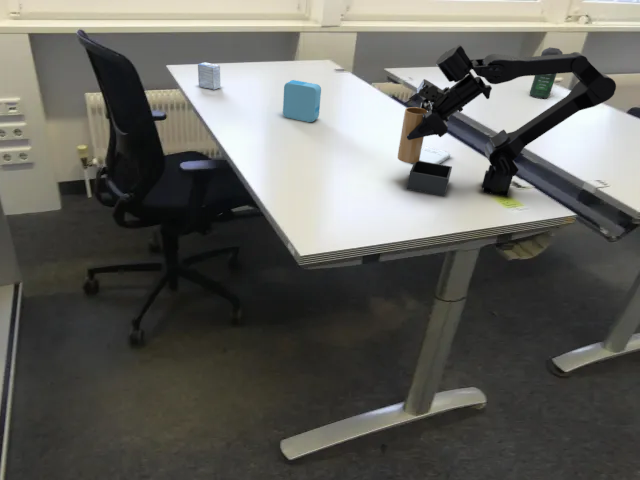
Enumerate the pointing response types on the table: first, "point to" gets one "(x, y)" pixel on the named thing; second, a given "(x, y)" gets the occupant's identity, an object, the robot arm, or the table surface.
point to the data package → (301, 100)
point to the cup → (408, 148)
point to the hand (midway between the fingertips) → (407, 134)
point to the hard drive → (433, 155)
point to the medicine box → (209, 75)
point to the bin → (429, 178)
